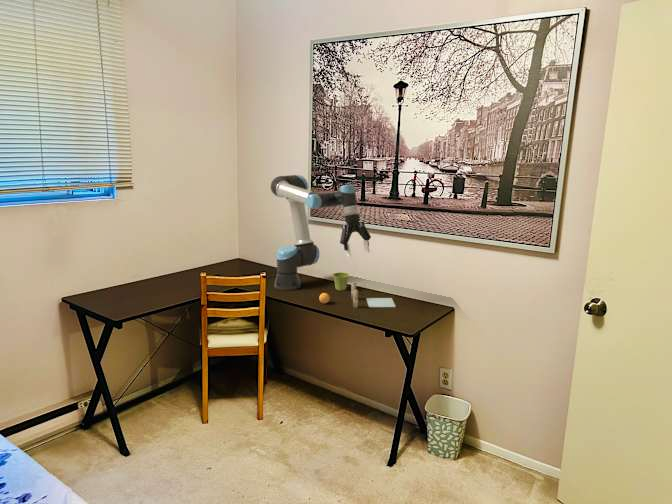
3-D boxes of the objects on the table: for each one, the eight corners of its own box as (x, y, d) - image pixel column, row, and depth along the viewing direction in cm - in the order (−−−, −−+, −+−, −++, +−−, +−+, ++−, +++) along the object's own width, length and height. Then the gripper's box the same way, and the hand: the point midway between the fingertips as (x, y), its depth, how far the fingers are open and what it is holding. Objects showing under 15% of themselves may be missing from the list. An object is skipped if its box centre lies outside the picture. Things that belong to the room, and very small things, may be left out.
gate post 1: (351, 298, 271) (351, 282, 269) (355, 298, 271) (356, 282, 269) (351, 299, 268) (351, 283, 266) (356, 299, 268) (356, 283, 266)
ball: (319, 301, 265) (319, 291, 264) (329, 301, 266) (329, 291, 264) (319, 304, 260) (319, 294, 259) (329, 304, 260) (329, 294, 259)
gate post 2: (352, 306, 259) (353, 289, 256) (357, 306, 259) (358, 289, 257) (353, 307, 256) (353, 291, 254) (358, 307, 256) (358, 291, 254)
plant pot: (347, 292, 281) (347, 277, 279) (331, 290, 283) (331, 276, 281) (350, 287, 290) (350, 272, 288) (334, 286, 292) (334, 271, 290)
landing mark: (366, 298, 271) (366, 298, 271) (391, 298, 271) (391, 297, 271) (369, 307, 257) (369, 306, 257) (395, 307, 258) (395, 306, 258)
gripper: (338, 215, 248) (345, 257, 248) (373, 211, 264) (379, 250, 265) (329, 217, 253) (335, 258, 254) (363, 213, 269) (369, 251, 270)
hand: (358, 254), depth 259 cm, fingers open, 13 cm apart
